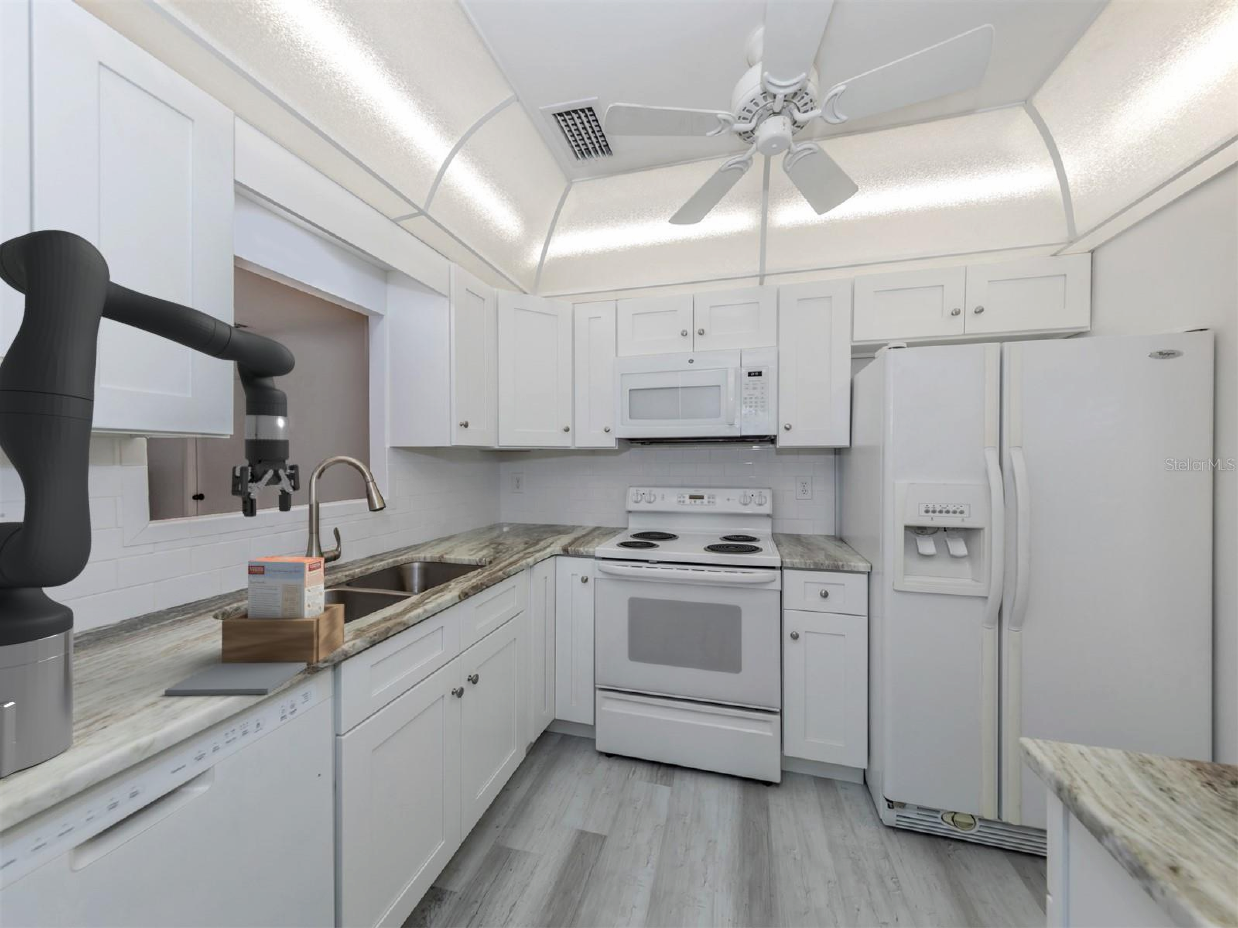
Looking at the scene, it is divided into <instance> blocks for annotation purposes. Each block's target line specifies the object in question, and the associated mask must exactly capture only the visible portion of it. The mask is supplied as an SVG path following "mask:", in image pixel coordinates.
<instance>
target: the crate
mask: <svg viewBox="0 0 1238 928" xmlns="http://www.w3.org/2000/svg"><path fill="white" fill-rule="evenodd" d="M344 643H345V604H344V603H324V612H323V613H321V614H319V615H317V616H316V617H314V618H248V609H247V610H244V611H241V612H238V613H237V614H235V615H231V616H229V617H226V618H224V620H222V621H221V663H307V665H309V664H310V665H311V664H312V665H313V664H315V663H316V662H321V660H323V659H324V658H326V657H327V656H329V655H330V654H332V653H333V652H335V651H336V650H338V649H339V648H340V647H342V646H343V645H344Z"/></svg>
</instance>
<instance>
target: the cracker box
mask: <svg viewBox="0 0 1238 928" xmlns="http://www.w3.org/2000/svg"><path fill="white" fill-rule="evenodd" d="M247 567H248V568H247V571H248V572H247V610H248V618H314V617H316V616H317V615H319V614H321V613H323V612H324V604H325V557H313V556H312V557H311V556H310V557H308V556H282V555H281V556H279V555H278V556H275V555H268V556H263V557H259V558H255V559H250V560H248V562H247Z"/></svg>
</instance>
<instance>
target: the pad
mask: <svg viewBox="0 0 1238 928" xmlns="http://www.w3.org/2000/svg"><path fill="white" fill-rule="evenodd" d="M307 665H308V664H307V663H222V662H221V663H214V664H212V665H210V666H209V667H207V668H204V669H203V670H200V671H198V672H197V673H195V674H193V675H190V676H189V677H187V678H185V679H183V680H181V681H180V682H177V683H175V684H173V685H171V686H170V687H168V688H165V689H164V696H213V695H214V696H216V695H219V696H221V695H222V696H225V695H226V696H228V695H235V696H236V695H269V694H271V693H272V692H273V691H274V690H276V689H278V688H279V687H280V686H283V684H285V683H286V682H288V681H289V680H291V679H292V678H293V677H295V676H296V675H297V674H300V673H301V672H302V671H304V670H306V668H307Z"/></svg>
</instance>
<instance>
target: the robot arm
mask: <svg viewBox="0 0 1238 928" xmlns="http://www.w3.org/2000/svg"><path fill="white" fill-rule="evenodd" d="M0 279H1V280H2V281H3V282H4V283H5V284H7V285H8V286H9V287H10V288H12V289H14V290H15V291H17V292H19V293H21V294H23V295H24V309H23V316H22V321H21V324H20V326H19V329H18V332H17V333H16V335H15V337H14V339H13V340H12V343H11V344H10V346H9V348H8V350H7V351H6V353H5V355H4V357H3V359H2V360H1V361H2V362H1V364H0V449H1V450H2V451H3V453H4V454H5V456H6V457H7V459H8V460H9V461H10V463H11V465H12V466H13V467H14V469H15V471H16V473H17V474H18V476H19V478H20V480H21V483H22V486H23V491H24V492H23V493H24V513H23V518H22V519H23V520H22V521H4V522H0V778H5V777H7V776H9V775H11V774H13V773H16V772H18V771H21V770H24V769H26V768H27V769H28V768H30V767H32V766H33V767H34V766H35V765H37V764H40V763H43V762H46V761H48V760H49V759H52V758H54V757H56V756H58V755H59V754H61V753H63V752H65V751H66V750H67V749H69V747H71V745H72V744H73V737H74V736H73V735H74V733H73V732H74V635H75V634H74V632H75V631H74V618H75V617H74V612H73V609H72V608H70V607H69V606H67V605H65V604H63V603H60V602H58V601H55V600H53V599H52V598H50V597H49V596H48V595H47V593H45V591H44V590H43V589H44V588H46V589H48V588H55V587H60V586H64V585H66V584H68V583H70V582H73V581H74V580H75V579H76V578H78V576H80V575H81V573H82V572H83V571H84V569H85V568H86V566H87V564H88V563H89V559H90V555H91V551H92V525H91V524H92V522H91V511H90V497H89V496H90V495H89V493H90V492H89V472H90V468H89V467H90V447H91V446H90V445H91V435H92V428H93V419H94V409H95V407H94V406H95V403H94V402H95V383H96V382H95V381H96V368H97V354H98V335H99V329H100V323H101V320H102V318H103V319H108V320H111V321H114V322H117V323H120V324H123V325H127V326H130V327H132V328H136V329H139V330H142V331H144V332H147V333H149V334H150V333H151V334H152V335H156V336H159V337H160V338H161V337H162V338H164V339H167V340H169V341H171V342H175V343H177V344H180V345H182V346H185V347H187V348H188V349H192V350H195V351H197V352H199V353H203V354H205V355H207V356H210V357H212V358H216V359H218V360H222V361H231V362H236V367H237V372H238V375H239V376H238V377H239V379H240V383H241V385H242V388H243V391H244V395H245V420H244V421H245V422H244V459H245V460H246V461H248V464H247V465H245V466H244V465H234V466H233V467H232V469H231V470H232V472H231V490H230V491H231V492H230V493H231V495H232V496H233V497H238V498H240V499H241V512H242V514H243V516H244V517H245V518H247V517H248V518H253V517H254V518H255V517H256V516H257V498H256V497H257V495H258V494H259V492H260V491H262V490H263V489H264V488H265V487H268V486H272V487H274V488H276V490H277V492H278V493H279V494H278V510H279V512H281V513H282V512H283V513H284V512H286V513H287V512H290V511H291V508H292V494H293V493H294V492H298V491H299V490H300V487H301V486H300V485H301V484H300V468H299V465H298V464H293V463H291V464H289V463H287V464H286V461H288V460H289V459H290V427H289V422H288V397H287V394H286V393H285V392H284V391H283V390H281V389H280V388H276V384H275V380H274V377H275V378H276V377H283V376H286V375H288V374H290V373H291V372H292V371H293V370H294V369H295V365H296V359H295V356H294V354H293V352H292V351H291V350H290V349H289V348H288V347H286V346H285V345H284V344H282V343H280V342H279V341H276V340H275V339H271V338H268V337H266V336H263V335H261V334H260V335H259V334H257V333H253V332H250V331H246V330H242V329H240V328H237V327H234V326H233V325H231V324H230V323H229V324H228V323H227V322H225V321H222V320H220V319H218V318H216V317H215V316H212V315H209V314H207V313H205V312H204V311H200V310H198V309H195V308H194V307H193V308H192V307H190V306H186V305H184V304H180V303H176V302H174V301H169V300H166V299H163V298H160V297H159V298H158V297H156V296H151V295H149V294H145V293H141V292H139V291H136V290H134V289H131V288H128V287H125V286H123V285H121V284H118V283H116V282H114V281H111V280H110V279H111V274H110V267H109V265H108V263H107V261H106V259H105V258H104V256H103V253H101V252H100V251H99V249H98V248H97V247H96V246H95V245H94V244H93V243H92V242H90V241H88V240H87V239H85V238H84V237H82V236H80V235H78V234H76V233H73V232H70V231H66V230H62V229H43V230H37V231H32V232H31V231H30V232H28V233H26V234H23V235H20V236H16V237H13V238H11V239H8V240H6V241H3V242H2V243H1V244H0ZM292 482H293V484H292Z"/></svg>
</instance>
